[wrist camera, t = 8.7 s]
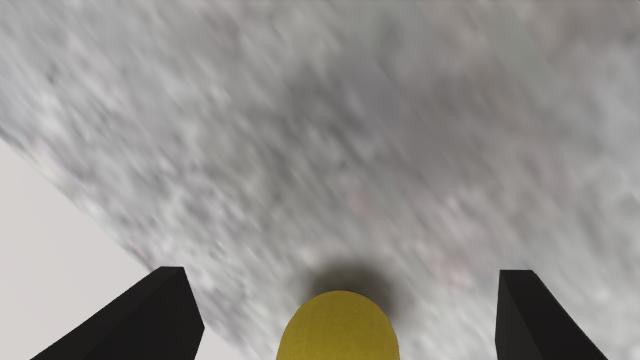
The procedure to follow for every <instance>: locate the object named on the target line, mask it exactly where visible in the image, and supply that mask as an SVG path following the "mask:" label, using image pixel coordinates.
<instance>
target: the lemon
mask: <svg viewBox="0 0 640 360" xmlns="http://www.w3.org/2000/svg"><path fill="white" fill-rule="evenodd" d="M276 360H400V355H399V346H398V341H397V337H396V334H395V332H394V330H393V327H392V325H391V323H390V321H389V319H388V318H387V316H386V315H385V314H384V312H383V311H382V310H381V309H380V308H379V307H378V306H377V305H376V304H375V303H373V302H372V301H371V300H369V299H368V298H366V297H364V296H362V295H360V294H357V293H353V292H349V291H331V292H326V293H323V294H320V295H318V296H315V297H313V298H312V299H310V300H309V301H308V302H306V303H305V304H303V305H302V306H301V307H300V308H299V309H298V311H297V312H296V313H295V315H294V316H293V317H292V319H291V320H290V322H289V323H288V325H287V327H286V329H285V331H284V333H283V336H282V339H281V342H280V345H279V349H278V353H277V357H276Z"/></svg>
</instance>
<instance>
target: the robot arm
mask: <svg viewBox="0 0 640 360" xmlns="http://www.w3.org/2000/svg"><path fill="white" fill-rule="evenodd" d="M204 329H205V327H204V324H203V321H202V318H201V316H200V313H199V310H198V307H197V304H196V301H195V299H194V296H193V293H192V290H191V287H190V284H189V281H188V279H187V276H186V273H185V270H184V267H165V266H161V267H159V268H158V269H156V270H155V271H153V272H152V273H150V274H149V275H147V276H146V277H144V278H143V279H142V280H140V281H139V282H137V283H136V284H135V285H133V286H132V287H131V288H129V289H128V290H127V291H125V292H124V293H122V294H121V295H120V296H119V297H117V298H116V299H114V300H113V301H112V302H110V303H109V304H108V305H106V306H105V307H104V308H102V309H101V310H100V311H98V312H97V313H95V314H94V315H93V316H91V317H90V318H89V319H88V320H86V321H85V322H83V323H82V324H81V325H79V326H78V327H76V328H75V329H74V330H72V331H71V332H69V333H68V334H66V335H65V336H64V337H62V338H61V339H59V340H58V341H56V342H55V343H53V344H52V345H51V346H49V347H48V348H46V349H45V350H43V351H42V352H40V353H39V354H38V355H36V356H35V357H34V358H32V359H30V360H194V359H195V356H196V353H197V351H198V348H199V345H200V341H201V338H202V335H203V332H204ZM495 345H496V351H497V358H498V360H608V359H607V358H606V357H605V356H604V354H603V353H602V352H601V351H600V350H599V349H598V348H597V347H596V346H595V344H594V343H593V342H592V341H591V340H590V339H589V338H588V337H587V336H586V334H585V333H584V332H583V331H582V330H581V329H580V328H579V326H578V325H577V324H576V323H575V322H574V321H573V319H572V318H571V317H570V316H569V315H568V313H567V312H566V311H565V310H564V309H563V307H562V306H561V305H560V304H559V302H558V301H557V300H556V299H555V297H554V296H553V295H552V294H551V292H550V291H549V290H548V289H547V287H546V286H545V285H544V283H543V282H542V281H541V280H540V278H539V277H538V276H537V274H535V273H534V272H533V271H532V270H500V275H499V289H498V303H497V317H496V331H495Z"/></svg>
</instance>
